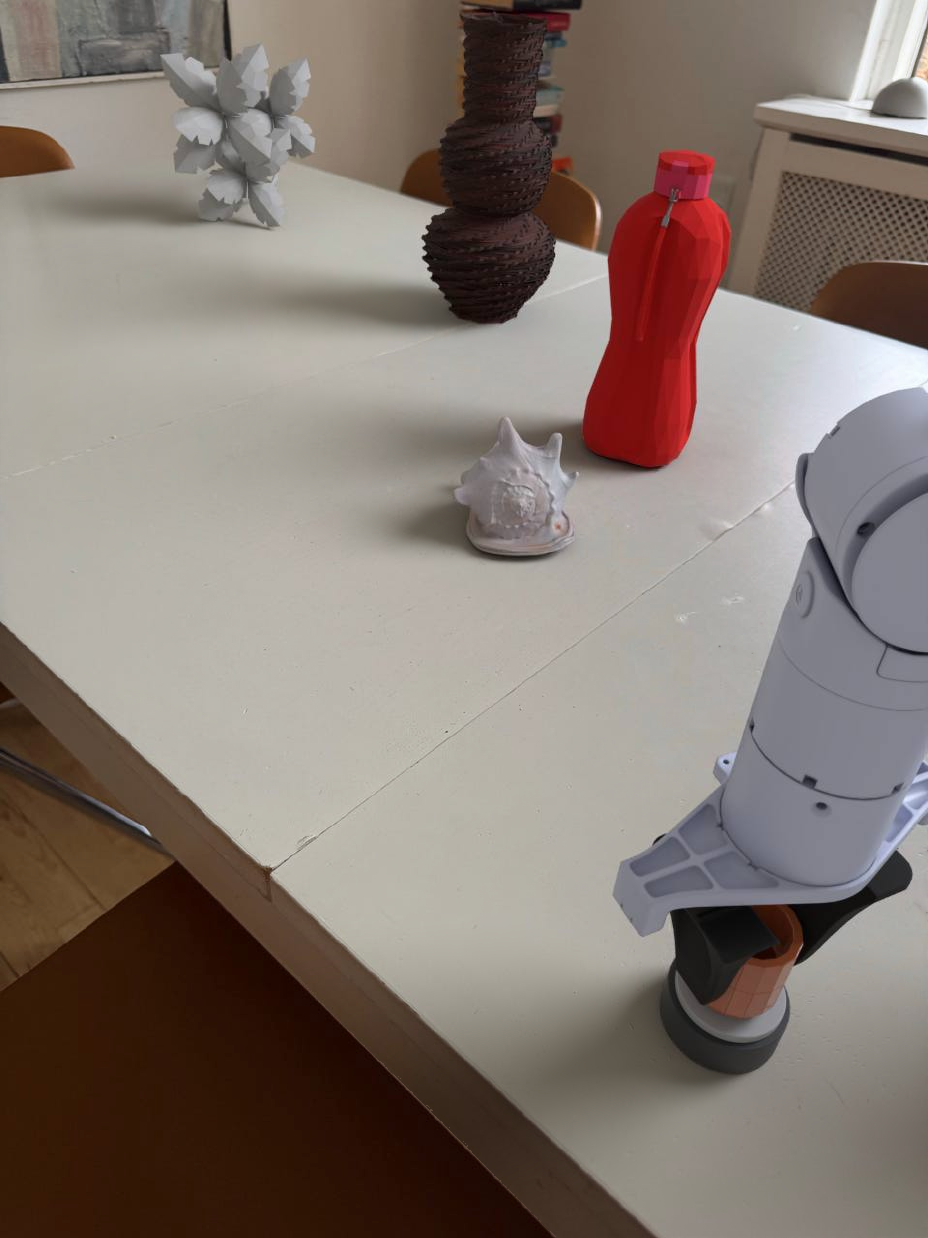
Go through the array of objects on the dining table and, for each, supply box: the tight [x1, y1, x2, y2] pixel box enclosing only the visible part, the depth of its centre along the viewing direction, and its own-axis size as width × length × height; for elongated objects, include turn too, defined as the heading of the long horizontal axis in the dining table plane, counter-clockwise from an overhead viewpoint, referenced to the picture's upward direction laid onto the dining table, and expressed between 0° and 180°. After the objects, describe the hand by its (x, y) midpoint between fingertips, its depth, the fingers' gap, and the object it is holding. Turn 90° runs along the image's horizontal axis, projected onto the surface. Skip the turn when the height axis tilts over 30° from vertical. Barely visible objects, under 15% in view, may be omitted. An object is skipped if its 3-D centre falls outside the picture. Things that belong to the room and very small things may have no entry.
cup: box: [707, 904, 803, 1018], centre depth 41 cm, size 4×4×4 cm
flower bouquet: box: [159, 42, 316, 228], centre depth 137 cm, size 17×34×21 cm, turn 160°
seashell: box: [451, 416, 580, 556], centre depth 75 cm, size 10×12×9 cm
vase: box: [420, 11, 557, 324], centre depth 106 cm, size 15×15×30 cm
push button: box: [659, 957, 791, 1075], centre depth 43 cm, size 5×5×2 cm
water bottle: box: [581, 149, 732, 469], centre depth 81 cm, size 9×11×25 cm
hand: (739, 964), depth 42 cm, fingers closed on cup, 4 cm apart
